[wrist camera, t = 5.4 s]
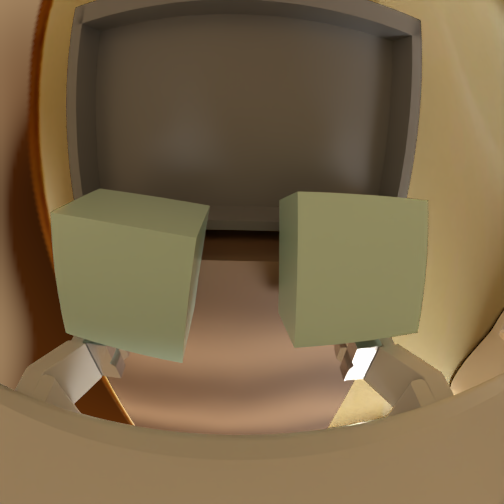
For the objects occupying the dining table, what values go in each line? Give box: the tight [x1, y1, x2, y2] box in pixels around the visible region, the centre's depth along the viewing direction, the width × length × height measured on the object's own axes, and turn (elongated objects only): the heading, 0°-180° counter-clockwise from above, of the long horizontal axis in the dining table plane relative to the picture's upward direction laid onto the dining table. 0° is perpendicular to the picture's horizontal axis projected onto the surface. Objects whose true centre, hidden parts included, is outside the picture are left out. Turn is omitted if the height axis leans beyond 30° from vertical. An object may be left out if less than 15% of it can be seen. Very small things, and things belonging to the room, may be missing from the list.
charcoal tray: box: [66, 0, 422, 231], centre depth 10 cm, size 10×14×2 cm
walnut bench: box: [106, 230, 354, 435], centre depth 15 cm, size 16×14×4 cm
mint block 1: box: [51, 189, 210, 363], centre depth 8 cm, size 4×4×3 cm
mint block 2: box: [278, 191, 428, 348], centre depth 8 cm, size 4×4×3 cm
